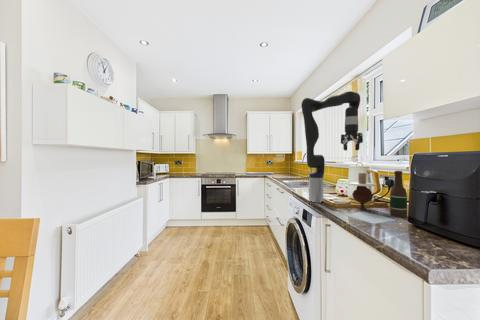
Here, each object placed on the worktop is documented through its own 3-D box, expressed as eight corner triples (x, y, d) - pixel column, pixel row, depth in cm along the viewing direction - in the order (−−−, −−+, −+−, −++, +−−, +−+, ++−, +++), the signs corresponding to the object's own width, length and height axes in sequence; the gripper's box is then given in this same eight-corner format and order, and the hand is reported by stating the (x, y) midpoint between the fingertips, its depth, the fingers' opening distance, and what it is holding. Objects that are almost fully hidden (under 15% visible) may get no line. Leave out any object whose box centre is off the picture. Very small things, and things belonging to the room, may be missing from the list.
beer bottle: (393, 214, 120) (393, 170, 120) (410, 217, 114) (410, 171, 114) (386, 216, 116) (386, 170, 116) (403, 219, 110) (403, 171, 109)
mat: (342, 215, 118) (342, 214, 118) (363, 212, 124) (363, 211, 124) (373, 225, 101) (373, 223, 101) (396, 221, 107) (396, 219, 107)
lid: (343, 184, 134) (343, 172, 134) (360, 182, 139) (360, 172, 139) (364, 186, 121) (364, 174, 121) (381, 185, 126) (381, 173, 126)
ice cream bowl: (348, 209, 133) (347, 184, 133) (360, 207, 137) (360, 183, 137) (364, 213, 123) (364, 186, 123) (377, 210, 128) (377, 185, 128)
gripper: (337, 125, 142) (337, 150, 142) (356, 122, 129) (356, 150, 129) (346, 126, 145) (346, 150, 145) (366, 123, 132) (365, 150, 132)
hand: (351, 150), depth 137 cm, fingers open, 8 cm apart
